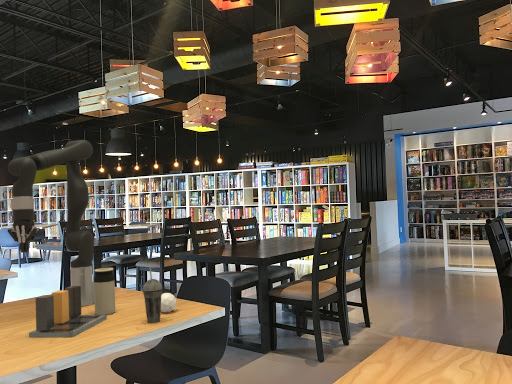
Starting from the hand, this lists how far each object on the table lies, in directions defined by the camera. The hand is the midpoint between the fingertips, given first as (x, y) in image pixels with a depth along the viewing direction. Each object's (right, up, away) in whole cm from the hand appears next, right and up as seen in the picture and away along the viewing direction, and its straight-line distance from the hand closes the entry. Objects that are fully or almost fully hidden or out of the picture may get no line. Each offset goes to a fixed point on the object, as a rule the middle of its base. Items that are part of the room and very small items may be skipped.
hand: (24, 252), depth 166 cm
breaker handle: (+20, -24, -12) cm, 33 cm away
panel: (+24, -26, -13) cm, 37 cm away
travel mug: (+29, -26, +7) cm, 40 cm away
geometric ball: (+55, -25, +5) cm, 61 cm away
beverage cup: (+53, -25, -9) cm, 59 cm away
